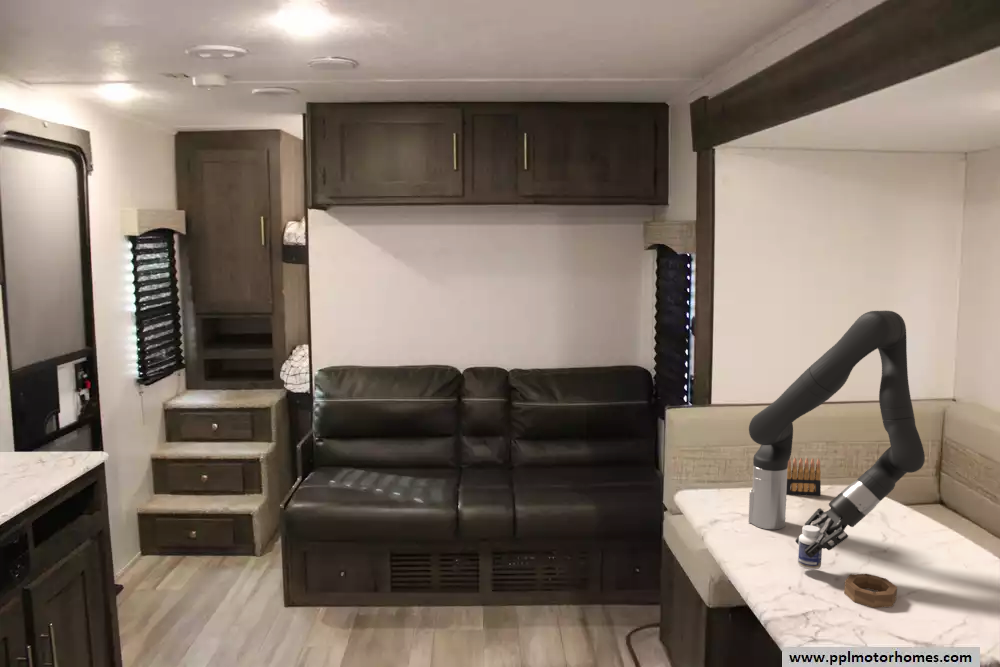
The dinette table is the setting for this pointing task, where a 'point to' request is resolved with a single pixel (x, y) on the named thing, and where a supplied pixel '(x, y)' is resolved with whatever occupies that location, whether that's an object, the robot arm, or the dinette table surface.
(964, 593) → the dinette table surface
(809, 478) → the ammunition clip
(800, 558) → the pill bottle
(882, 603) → the walnut ring
